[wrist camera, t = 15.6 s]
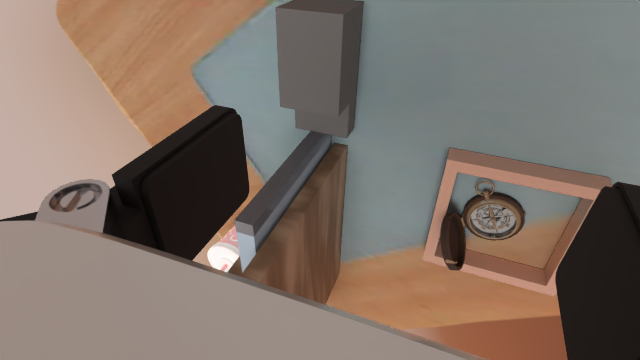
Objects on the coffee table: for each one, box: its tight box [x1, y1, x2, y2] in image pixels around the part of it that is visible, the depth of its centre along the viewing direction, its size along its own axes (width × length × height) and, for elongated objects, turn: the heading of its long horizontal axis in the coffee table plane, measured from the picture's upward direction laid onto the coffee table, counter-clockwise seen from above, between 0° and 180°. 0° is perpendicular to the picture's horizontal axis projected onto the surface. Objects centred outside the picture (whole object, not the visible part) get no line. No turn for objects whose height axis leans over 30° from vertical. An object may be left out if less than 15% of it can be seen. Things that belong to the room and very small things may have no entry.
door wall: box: [228, 143, 348, 305], centre depth 42 cm, size 6×22×23 cm, turn 178°
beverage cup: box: [208, 226, 240, 272], centre depth 51 cm, size 6×6×14 cm
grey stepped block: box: [276, 0, 364, 138], centre depth 37 cm, size 6×13×6 cm, turn 178°
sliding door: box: [234, 131, 331, 273], centre depth 41 cm, size 2×16×18 cm, turn 179°
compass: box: [440, 181, 526, 270], centre depth 39 cm, size 8×8×7 cm
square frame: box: [422, 148, 612, 296], centre depth 41 cm, size 14×14×2 cm
